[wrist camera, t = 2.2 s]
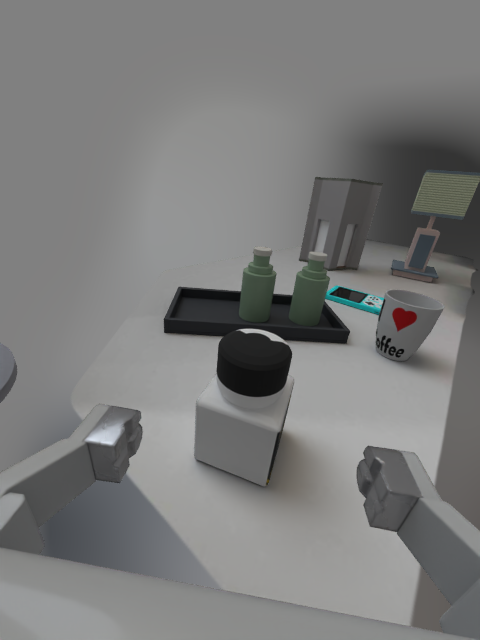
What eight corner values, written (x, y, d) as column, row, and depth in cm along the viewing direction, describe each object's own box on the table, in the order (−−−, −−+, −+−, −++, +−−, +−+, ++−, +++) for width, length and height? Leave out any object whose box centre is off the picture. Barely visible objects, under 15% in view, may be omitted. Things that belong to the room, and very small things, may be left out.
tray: (164, 332, 45) (163, 319, 44) (178, 297, 59) (178, 286, 58) (346, 343, 48) (350, 331, 47) (319, 307, 62) (321, 297, 61)
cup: (356, 342, 49) (374, 289, 44) (391, 338, 51) (411, 288, 47) (392, 369, 42) (417, 310, 37) (430, 363, 44) (457, 308, 40)
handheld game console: (391, 319, 60) (393, 313, 59) (322, 298, 68) (323, 292, 67) (398, 306, 67) (400, 301, 67) (335, 289, 75) (336, 284, 75)
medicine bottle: (266, 489, 23) (292, 378, 18) (192, 459, 25) (196, 350, 20) (283, 428, 29) (305, 332, 24) (222, 407, 31) (231, 314, 26)
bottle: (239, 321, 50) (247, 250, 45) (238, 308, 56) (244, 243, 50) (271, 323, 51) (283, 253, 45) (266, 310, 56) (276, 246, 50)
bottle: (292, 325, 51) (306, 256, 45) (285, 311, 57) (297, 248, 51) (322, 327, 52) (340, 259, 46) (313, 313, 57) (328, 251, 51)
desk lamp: (435, 284, 90) (484, 173, 75) (389, 275, 96) (426, 169, 81) (431, 273, 105) (471, 178, 90) (391, 265, 110) (422, 174, 96)
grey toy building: (356, 268, 99) (381, 183, 87) (358, 275, 91) (387, 182, 78) (299, 259, 104) (315, 177, 91) (296, 265, 95) (314, 175, 83)
